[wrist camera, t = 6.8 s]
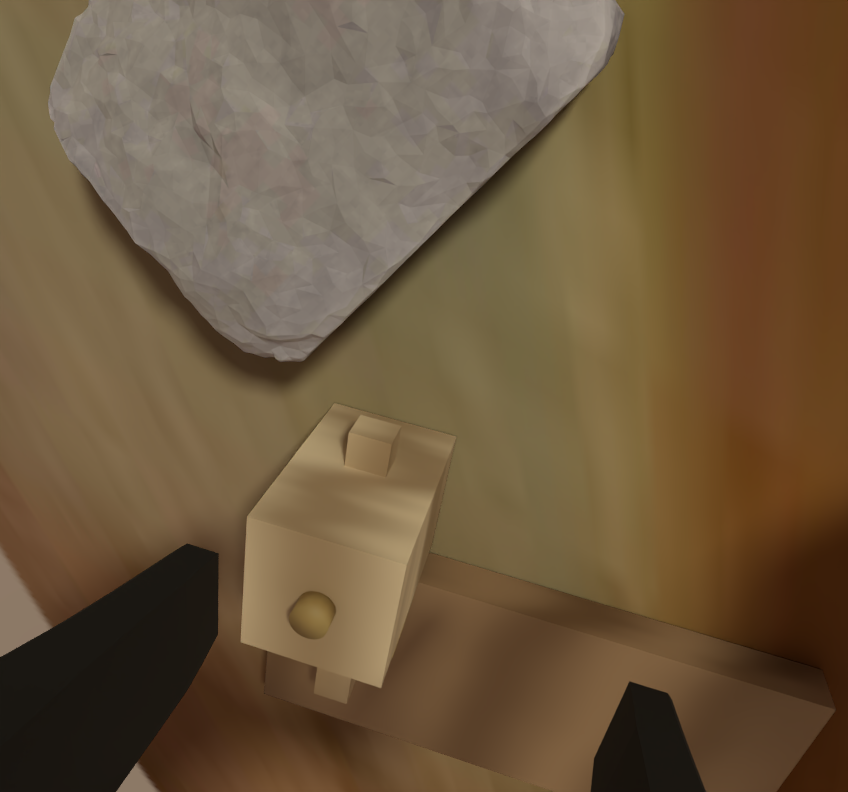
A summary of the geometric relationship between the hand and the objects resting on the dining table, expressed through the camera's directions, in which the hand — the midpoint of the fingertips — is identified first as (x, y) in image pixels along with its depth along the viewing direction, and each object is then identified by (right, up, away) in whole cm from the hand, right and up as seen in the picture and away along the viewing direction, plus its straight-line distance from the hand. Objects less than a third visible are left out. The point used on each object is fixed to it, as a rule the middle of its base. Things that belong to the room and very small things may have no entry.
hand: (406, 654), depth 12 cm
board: (+4, -5, +13) cm, 15 cm away
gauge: (-1, 0, +12) cm, 12 cm away
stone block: (-2, +13, +6) cm, 14 cm away
